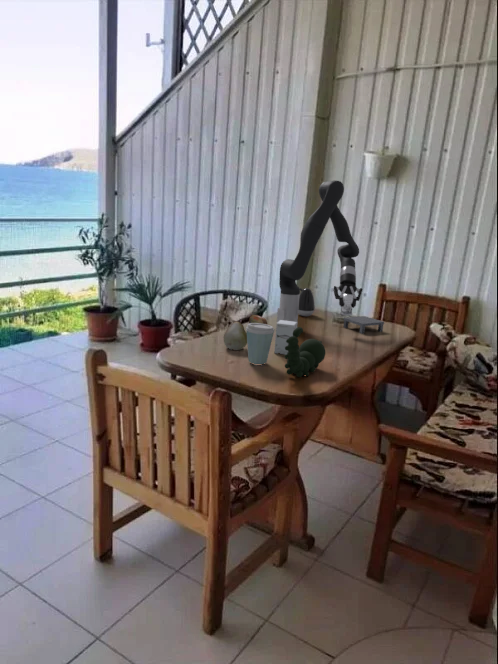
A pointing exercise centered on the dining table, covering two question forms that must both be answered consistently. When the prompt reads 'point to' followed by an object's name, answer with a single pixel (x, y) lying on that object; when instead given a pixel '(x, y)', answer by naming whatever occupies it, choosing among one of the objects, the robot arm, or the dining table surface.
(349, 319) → the stand
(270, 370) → the dining table surface
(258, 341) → the disposable coffee cup
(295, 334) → the toy figurine
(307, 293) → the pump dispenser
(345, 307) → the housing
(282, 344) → the supplement box
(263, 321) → the tin
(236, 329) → the fruit
